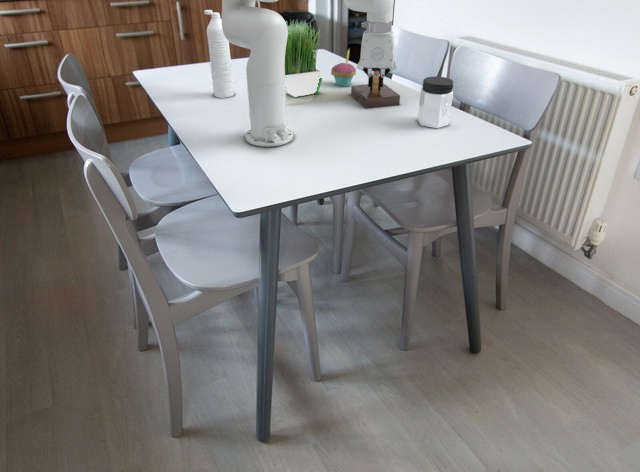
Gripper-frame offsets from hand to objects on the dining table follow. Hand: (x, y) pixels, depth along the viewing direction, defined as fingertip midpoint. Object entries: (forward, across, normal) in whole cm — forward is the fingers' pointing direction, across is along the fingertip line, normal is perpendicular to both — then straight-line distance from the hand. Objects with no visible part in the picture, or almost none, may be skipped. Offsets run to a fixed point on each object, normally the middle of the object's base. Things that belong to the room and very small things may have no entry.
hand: (375, 88), depth 158 cm
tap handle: (0, 0, 0) cm, 0 cm away
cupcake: (+4, -11, +15) cm, 19 cm away
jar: (+4, +17, -19) cm, 26 cm away
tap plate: (+4, 0, 0) cm, 4 cm away
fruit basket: (+4, -23, +3) cm, 24 cm away
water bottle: (+4, -50, 0) cm, 50 cm away
